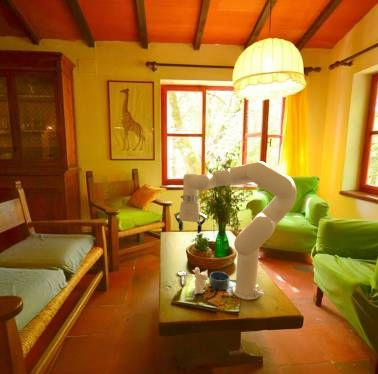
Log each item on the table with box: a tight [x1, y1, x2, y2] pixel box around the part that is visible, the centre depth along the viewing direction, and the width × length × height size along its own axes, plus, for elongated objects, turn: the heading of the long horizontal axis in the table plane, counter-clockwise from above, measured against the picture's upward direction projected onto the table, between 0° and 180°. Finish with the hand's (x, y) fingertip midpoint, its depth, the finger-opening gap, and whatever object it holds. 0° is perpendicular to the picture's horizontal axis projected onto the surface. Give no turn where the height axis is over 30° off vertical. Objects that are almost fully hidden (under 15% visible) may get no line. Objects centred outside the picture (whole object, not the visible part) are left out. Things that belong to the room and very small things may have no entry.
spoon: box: [177, 270, 187, 286], centre depth 132 cm, size 14×4×1 cm, turn 4°
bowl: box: [208, 271, 231, 291], centre depth 126 cm, size 10×10×5 cm
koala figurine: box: [191, 266, 209, 295], centre depth 120 cm, size 8×7×12 cm
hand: (189, 231), depth 129 cm, fingers open, 9 cm apart
